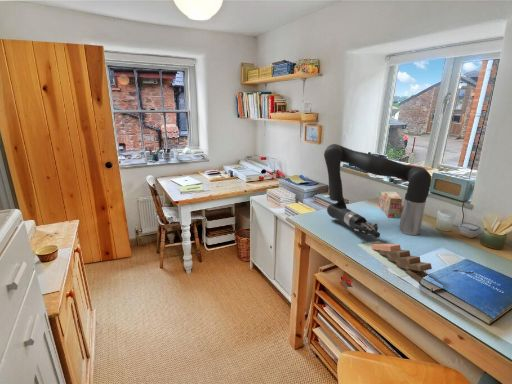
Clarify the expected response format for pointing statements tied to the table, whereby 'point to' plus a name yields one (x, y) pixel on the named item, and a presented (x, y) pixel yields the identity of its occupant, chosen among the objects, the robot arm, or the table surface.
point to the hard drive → (449, 258)
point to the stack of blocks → (390, 204)
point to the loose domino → (386, 247)
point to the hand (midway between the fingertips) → (378, 235)
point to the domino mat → (383, 258)
